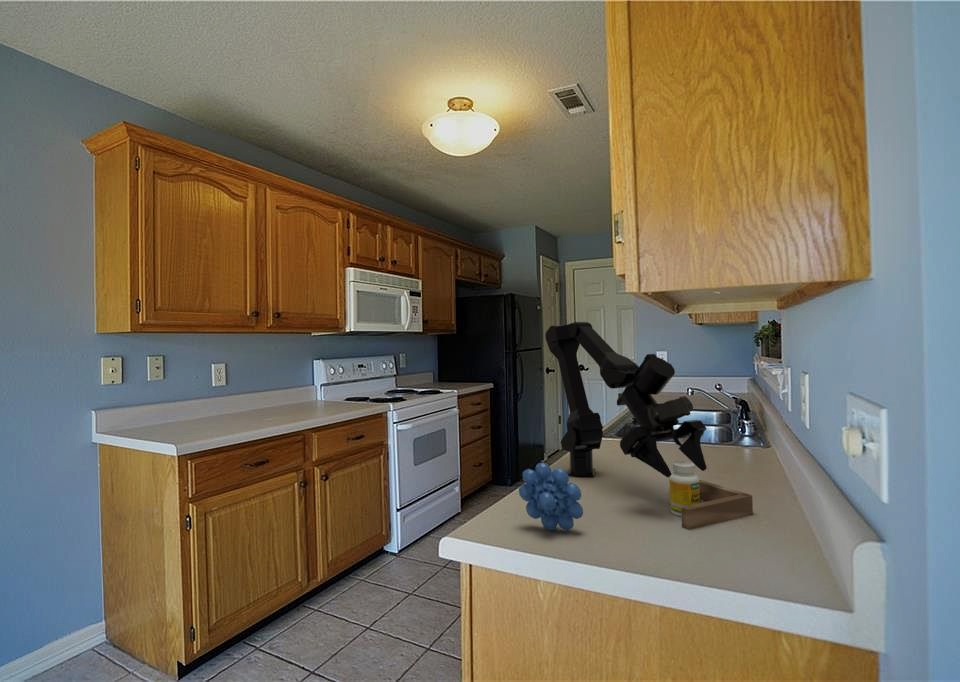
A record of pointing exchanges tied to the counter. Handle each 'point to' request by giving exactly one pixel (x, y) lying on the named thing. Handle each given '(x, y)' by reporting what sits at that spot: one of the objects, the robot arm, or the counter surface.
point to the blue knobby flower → (551, 497)
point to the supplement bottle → (683, 487)
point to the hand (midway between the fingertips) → (687, 472)
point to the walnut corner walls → (716, 506)
